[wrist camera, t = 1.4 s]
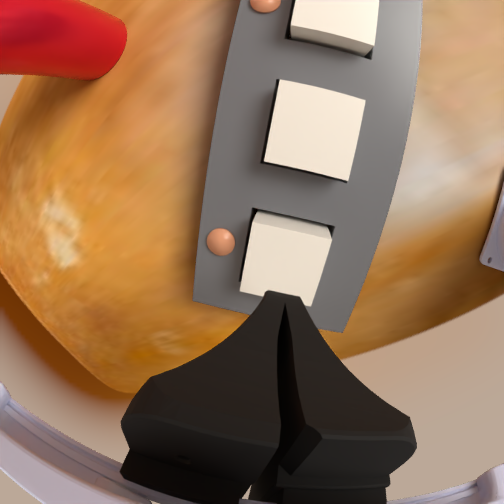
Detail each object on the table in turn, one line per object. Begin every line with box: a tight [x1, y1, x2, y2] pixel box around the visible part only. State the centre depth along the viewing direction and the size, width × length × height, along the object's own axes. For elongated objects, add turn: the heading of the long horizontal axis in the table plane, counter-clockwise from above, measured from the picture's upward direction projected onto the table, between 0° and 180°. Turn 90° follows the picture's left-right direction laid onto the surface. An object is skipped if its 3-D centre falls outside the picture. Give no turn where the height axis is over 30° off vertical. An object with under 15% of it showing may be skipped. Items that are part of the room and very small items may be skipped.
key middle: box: [264, 79, 366, 181], centre depth 13 cm, size 4×4×3 cm
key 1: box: [291, 0, 379, 57], centre depth 10 cm, size 4×4×3 cm
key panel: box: [193, 0, 422, 333], centre depth 14 cm, size 10×23×3 cm, turn 170°
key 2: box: [240, 209, 332, 306], centre depth 16 cm, size 4×4×3 cm
